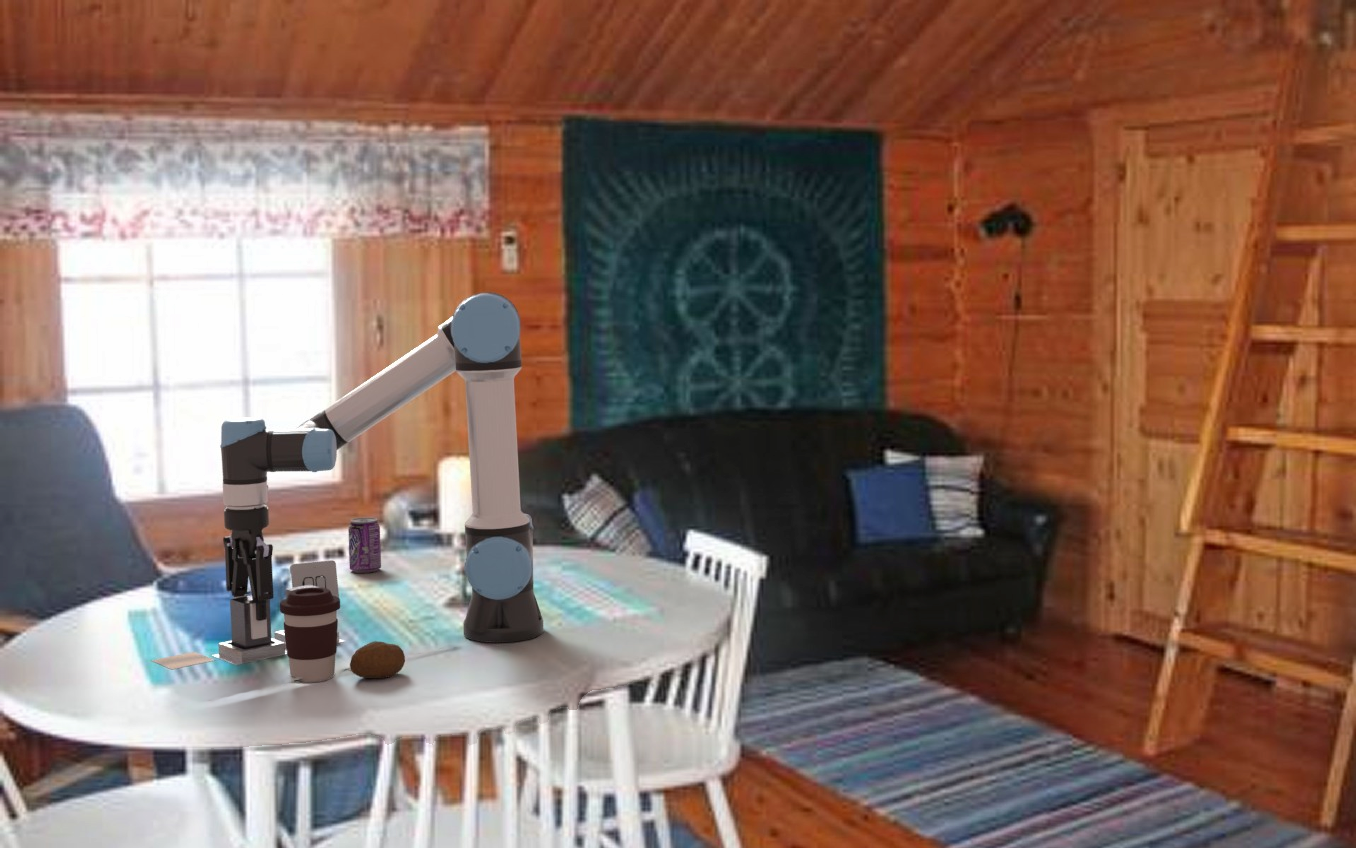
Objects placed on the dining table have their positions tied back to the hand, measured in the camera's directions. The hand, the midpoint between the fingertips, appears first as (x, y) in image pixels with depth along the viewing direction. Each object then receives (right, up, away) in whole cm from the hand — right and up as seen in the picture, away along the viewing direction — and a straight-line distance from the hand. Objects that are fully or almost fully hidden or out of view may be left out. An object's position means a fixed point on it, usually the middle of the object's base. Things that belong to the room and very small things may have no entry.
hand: (251, 634), depth 254 cm
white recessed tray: (+4, -4, +4) cm, 7 cm away
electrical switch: (0, 0, +42) cm, 42 cm away
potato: (+25, -6, -11) cm, 28 cm away
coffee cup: (+14, -6, -11) cm, 19 cm away
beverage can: (+4, +3, +75) cm, 75 cm away
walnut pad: (-11, -5, -3) cm, 12 cm away
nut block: (0, -4, 0) cm, 4 cm away
